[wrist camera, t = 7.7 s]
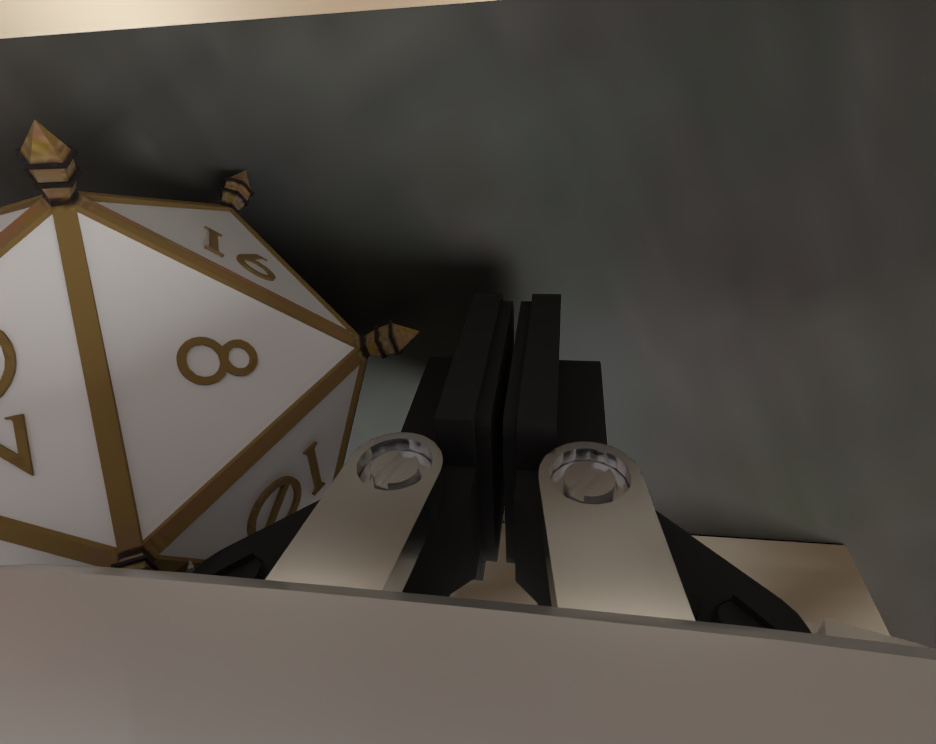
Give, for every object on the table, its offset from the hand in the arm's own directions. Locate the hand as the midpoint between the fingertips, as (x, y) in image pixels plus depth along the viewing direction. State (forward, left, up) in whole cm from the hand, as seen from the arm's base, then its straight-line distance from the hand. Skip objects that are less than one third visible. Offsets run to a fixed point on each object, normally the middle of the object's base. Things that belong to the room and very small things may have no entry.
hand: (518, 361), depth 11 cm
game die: (+6, -1, -1) cm, 6 cm away
